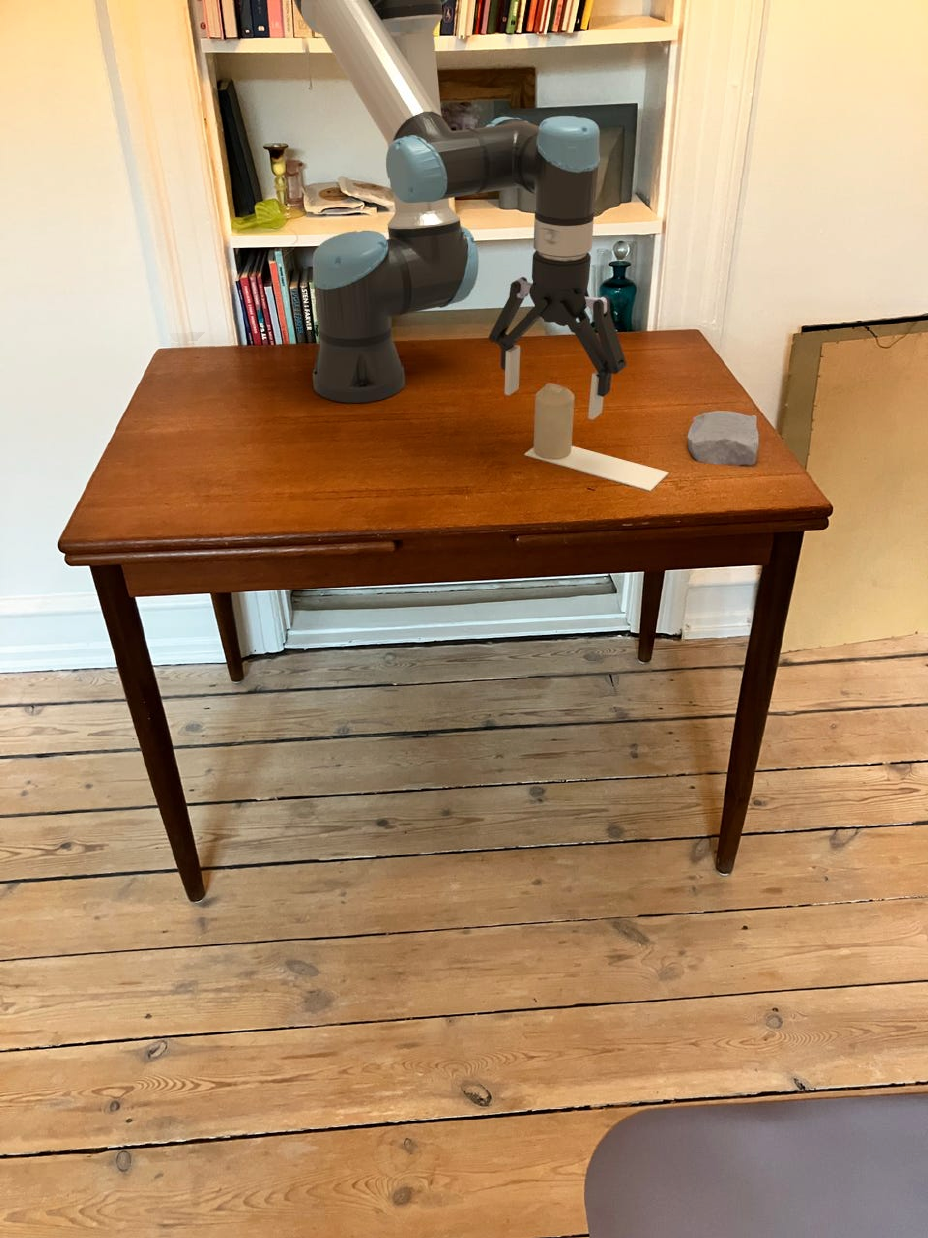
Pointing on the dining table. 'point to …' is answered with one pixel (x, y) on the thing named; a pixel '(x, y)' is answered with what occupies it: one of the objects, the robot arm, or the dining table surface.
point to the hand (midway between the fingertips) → (552, 403)
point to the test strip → (608, 468)
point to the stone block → (724, 438)
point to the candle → (553, 421)
